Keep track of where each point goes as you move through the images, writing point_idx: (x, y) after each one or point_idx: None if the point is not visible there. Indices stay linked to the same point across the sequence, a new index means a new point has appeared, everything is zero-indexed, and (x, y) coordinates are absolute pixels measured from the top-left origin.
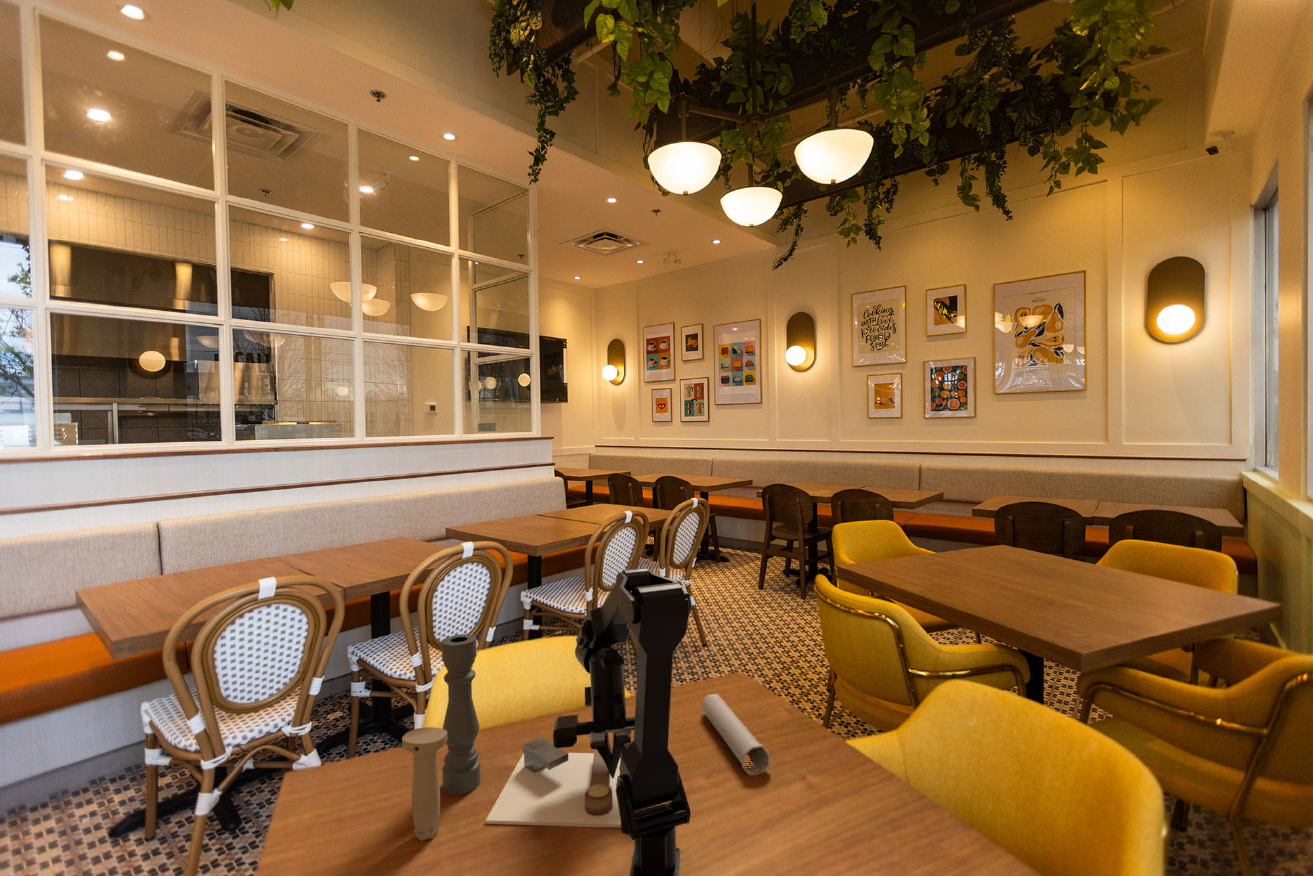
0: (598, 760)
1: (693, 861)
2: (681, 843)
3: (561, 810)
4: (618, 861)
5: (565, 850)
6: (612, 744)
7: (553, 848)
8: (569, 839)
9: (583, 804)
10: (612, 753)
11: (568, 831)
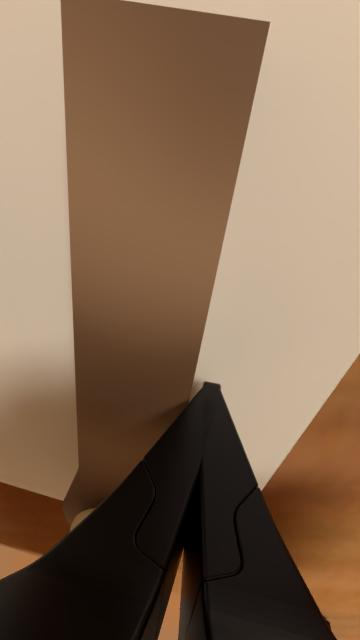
0: (113, 270)
1: (348, 635)
2: (350, 606)
3: (2, 447)
4: (179, 588)
5: (55, 536)
6: (200, 567)
7: (24, 524)
8: (58, 517)
9: (76, 445)
10: (184, 603)
11: (50, 497)
